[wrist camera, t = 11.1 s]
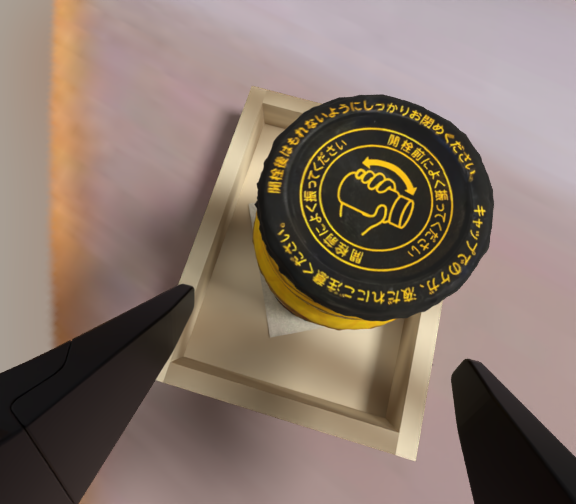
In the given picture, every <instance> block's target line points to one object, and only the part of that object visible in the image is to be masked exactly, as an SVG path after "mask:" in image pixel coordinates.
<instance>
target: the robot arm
mask: <svg viewBox="0 0 576 504" xmlns="http://www.w3.org/2000/svg"><path fill="white" fill-rule="evenodd" d="M194 304H195V289H194V287H193V286H191V285H187V284H180V285H178V286H176V287H174V288H172V289H170V290H168V291H166V292H164V293H162V294H160V295H158V296H156V297H154V298H152V299H150V300H148V301H146V302H144V303H142V304H140V305H138V306H136V307H134V308H132V309H131V310H129V311H127V312H125V313H123V314H121V315H119V316H117V317H115V318H113V319H111V320H109V321H107V322H105V323H103V324H101V325H99V326H97V327H95V328H93V329H91V330H89V331H87V332H85V333H83V334H82V335H80V336H78V337H76V338H74V339H72V341H68V342H66V343H64V344H62V345H60V346H58V347H56V348H54V349H52V350H50V351H48V352H46V353H44V354H42V355H40V356H37V357H35V358H33V359H32V360H29V361H27V362H25V363H22V364H20V365H18V366H16V367H13V368H11V369H9V370H7V371H5V372H2V373H0V504H78V503H79V502H80V500H81V499H82V497H83V495H84V494H85V492H86V491H87V489H88V487H89V486H90V484H91V483H92V481H93V479H94V478H95V476H96V475H97V473H98V471H99V470H100V468H101V467H102V465H103V463H104V462H105V460H106V459H107V457H108V455H109V454H110V452H111V451H112V449H113V447H114V446H115V444H116V443H117V441H118V439H119V438H120V436H121V435H122V433H123V431H124V430H125V428H126V427H127V425H128V423H129V422H130V420H131V419H132V417H133V415H134V414H135V412H136V410H137V409H138V407H139V406H140V404H141V402H142V401H143V399H144V398H145V396H146V394H147V393H148V391H149V390H150V388H151V386H152V385H153V383H154V382H155V380H156V378H157V377H158V375H159V374H160V372H161V370H162V369H163V367H164V366H165V364H166V362H167V361H168V359H169V358H170V356H171V354H172V353H173V351H174V349H175V347H176V345H177V343H178V341H179V339H180V337H181V334H182V332H183V330H184V328H185V326H186V324H187V322H188V320H189V318H190V316H191V314H192V311H193V309H194ZM451 383H452V391H453V399H454V407H455V415H456V423H457V429H458V434H459V439H460V443H461V448H462V452H463V456H464V461H465V465H466V469H467V474H468V478H469V482H470V487H471V491H472V496H473V500H474V504H576V457H575V456H574V455H573V454H572V453H571V452H570V451H569V450H568V449H567V448H566V447H565V446H564V445H563V444H562V443H561V442H560V441H559V440H558V439H557V438H556V437H555V436H554V435H553V434H552V433H551V432H550V431H549V430H548V429H547V428H546V427H545V426H544V425H543V424H542V423H541V422H540V421H539V420H538V419H537V418H536V417H535V416H534V415H533V414H532V413H531V412H530V411H529V410H528V409H527V408H526V407H525V406H524V405H523V404H522V403H521V402H520V401H519V400H518V399H517V398H516V397H515V396H514V395H513V394H512V393H511V392H510V391H509V390H508V389H507V388H506V387H505V386H504V385H503V384H502V383H501V382H500V381H499V380H498V379H497V378H496V377H495V376H494V375H493V374H492V373H491V372H490V371H489V370H488V369H487V368H486V367H485V366H484V365H483V364H482V363H481V362H479V361H475V360H471V359H465V360H463V361H462V363H461V364H460V365H459V366H458V367H457V369H456V370H455V371H454V372H453V374H452V377H451Z"/></svg>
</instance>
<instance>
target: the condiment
mask: <svg viewBox="0 0 576 504" xmlns="http://www.w3.org/2000/svg"><path fill="white" fill-rule="evenodd" d="M263 164H264V168H263V170H262V172H261V175H260V178H259V182H258V183H257V189H258V191H257V194H258V196H257V201H256V203H250V204H249V210H250V216H251V222H252V229H253V239H252V242H253V245H254V249H255V255H256V259H257V263H258V267H259V271H260V278H261V284H262V290H263V296H264V302H265V308H266V315H267V321H268V327H269V334H270V338H271V337H276V336H281V335H287V334H292V333H297V332H302V331H307V330H313V329H318V328H323V327H327V328H331V329H335V330H338V331H340V330H346V329H350V330H358V329H372V328H375V327H380V326H382V325H384V324H386V323H389V322H392V321H394V320H396V319H399V318H409V317H410V316H412V315H414V314H417V313H420V312H426V311H427V310H429V309H430V308H431V307H433V306H435V305H437V304H439V303H440V302H441V301H442V300H444V299H445V298H446V297H448V296H450V295H452V294H453V293H455V292H456V291H458V290H459V289H460V287H461V286H462V285H463V284H464V283H465V282H466V280H467V279H468V278H469V276H470V275H471V273H472V272H473V271H474V269H475V268H476V267H477V265H478V263H479V261H480V259H481V258H482V257H483V255H484V254H485V253H486V252H487V250H488V248H489V243H490V234H491V229H492V219H493V208H494V200H493V189H492V186H491V183H490V180H489V176H488V174H487V172H486V170H485V167H484V165H483V163H482V159H481V156H480V154H479V153H478V152H477V150H476V149H475V148H474V147H473V145H472V144H471V142H470V140H469V139H468V137H467V136H466V134H464V133H463V132H461V131H460V130H459V129H458V128H457V127H456V126H455V125H454V124H453V123H451V122H450V121H448V120H446V119H444V118H442V117H440V116H439V115H437V114H435V113H433V112H431V111H429V110H427V109H425V108H424V107H421V106H419V105H417V104H413V103H411V102H408V101H405V100H401V99H398V98H394V97H390V96H386V95H358V96H354V97H342V98H337V99H334V100H331V101H329V102H326V103H323V104H321V105H319V106H315V107H312V108H311V109H309V110H307V111H305V112H304V113H303V114H301V115H300V116H299V117H298V118H297V119H296V120H295V121H294V122H293V123H292V124H290V125H289V126H288V127H287V128H286V129H285V130H284V131H283V132H282V133H280V134H279V135H278V136H277V137H276V139H275V140H274V141H273V144H272V148H271V151H270V153H269V155H268V157H267V158H266V159H265V161H264V163H263Z"/></svg>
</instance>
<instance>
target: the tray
mask: <svg viewBox="0 0 576 504" xmlns="http://www.w3.org/2000/svg"><path fill="white" fill-rule="evenodd" d="M319 105H321V103H317V102H313V101H309V100H305V99H301V98H297V97H293V96H290V95H286V94H282V93H278V92H274V91H270V90H266V89H263V88H259V87H255V86H252V87H251V90H250V92H249V95H248V98H247V101H246V103H245V106H244V109H243V111H242V114H241V117H240V119H239V122H238V125H237V128H236V130H235V133H234V136H233V138H232V141H231V144H230V146H229V149H228V152H227V155H226V157H225V160H224V163H223V165H222V168H221V171H220V173H219V176H218V179H217V182H216V184H215V187H214V190H213V192H212V195H211V198H210V200H209V203H208V206H207V209H206V211H205V214H204V217H203V219H202V222H201V225H200V227H199V230H198V233H197V236H196V238H195V241H194V244H193V246H192V249H191V252H190V254H189V257H188V260H187V263H186V265H185V268H184V271H183V273H182V276H181V279H180V281H179V284H178V285H180V284H187V285H191V286H193V287H194V289H195V304H194V309H193V311H192V314H191V316H190V318H189V320H188V322H187V324H186V326H185V328H184V330H183V332H182V334H181V337H180V339H179V341H178V343H177V345H176V347H175V349H174V351H173V353H172V354H171V356H170V358H169V359H168V361H167V362H166V364H165V366H164V367H163V369H162V370H161V372H160V374H159V375H158V377H157V378H156V380H157V381H160V382H163V383H166V384H170V385H173V386H176V387H179V388H182V389H186V390H189V391H192V392H195V393H198V394H202V395H205V396H208V397H211V398H214V399H218V400H221V401H224V402H227V403H230V404H234V405H237V406H240V407H243V408H246V409H250V410H253V411H256V412H259V413H262V414H266V415H269V416H272V417H275V418H278V419H282V420H285V421H288V422H291V423H294V424H298V425H301V426H304V427H307V428H310V429H314V430H317V431H320V432H323V433H326V434H330V435H333V436H336V437H339V438H342V439H346V440H349V441H352V442H355V443H358V444H362V445H365V446H368V447H371V448H374V449H378V450H381V451H384V452H387V453H390V454H394V455H397V456H400V457H403V458H407V459H410V460H413V461H416V456H417V450H418V444H419V438H420V432H421V426H422V421H423V415H424V409H425V403H426V397H427V391H428V385H429V379H430V373H431V367H432V361H433V355H434V349H435V343H436V337H437V331H438V326H439V320H440V314H441V308H442V302H443V300H442V301H441V302H440V303H439V304H437V305H435V306H433V307H431V308H430V309H429V310H427V311H426V312H420V313H417V314H414V315H412V316H410V317H409V318H399V319H396V320H394V321H392V322H389V323H386V324H384V325H382V326H380V327H375V328H372V329H358V330H350V329H346V330H340V331H338V330H335V329H331V328H327V327H323V328H318V329H313V330H307V331H302V332H297V333H292V334H287V335H281V336H276V337H271V338H270V334H269V327H268V321H267V315H266V308H265V302H264V296H263V290H262V284H261V278H260V271H259V267H258V263H257V259H256V255H255V249H254V245H253V242H252V239H253V229H252V222H251V216H250V210H249V204H250V203H256V201H257V196H258V194H257V191H258V189H257V183H258V182H259V178H260V175H261V172H262V170H263V168H264V164H263V163H264V161H265V159H266V158H267V157H268V155H269V153H270V151H271V148H272V144H273V141H274V140H275V139H276V137H277V136H278V135H279V134H280V133H282V132H283V131H284V130H285V129H286V128H287V127H288V126H289V125H290V124H292V123H293V122H294V121H295V120H296V119H297V118H298V117H299V116H300V115H301V114H303V113H304V112H305V111H307V110H309V109H311V108H312V107H315V106H319Z"/></svg>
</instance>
